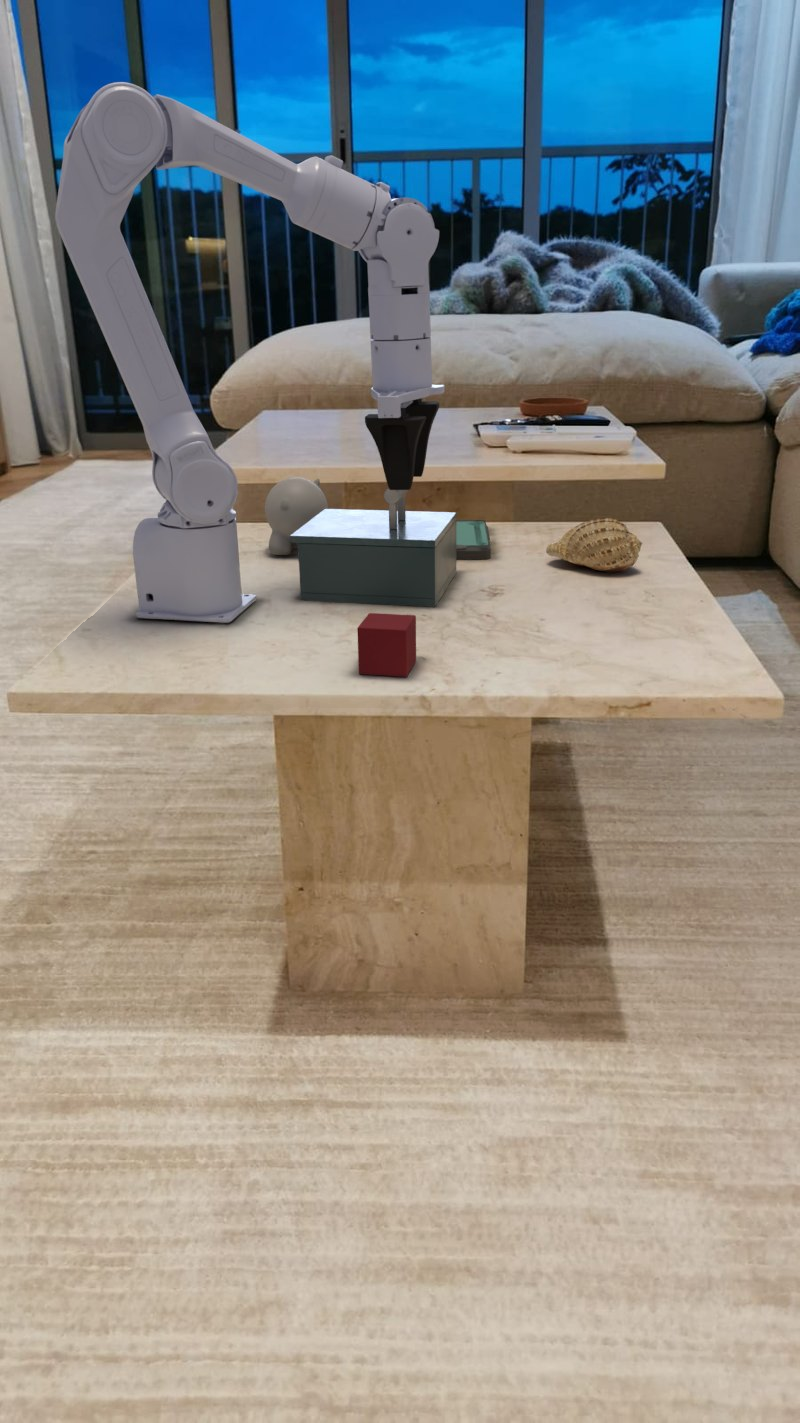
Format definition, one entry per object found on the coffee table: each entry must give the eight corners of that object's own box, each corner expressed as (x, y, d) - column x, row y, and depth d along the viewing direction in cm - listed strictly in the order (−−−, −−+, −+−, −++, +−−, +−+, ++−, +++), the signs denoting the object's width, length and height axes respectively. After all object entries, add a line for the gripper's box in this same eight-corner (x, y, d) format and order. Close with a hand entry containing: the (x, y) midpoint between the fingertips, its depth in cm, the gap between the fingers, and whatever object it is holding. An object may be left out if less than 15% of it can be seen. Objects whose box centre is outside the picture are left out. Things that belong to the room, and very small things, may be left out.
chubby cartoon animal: (343, 535, 132) (340, 465, 129) (322, 560, 121) (318, 484, 118) (286, 534, 133) (282, 464, 130) (260, 558, 122) (255, 483, 119)
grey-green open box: (300, 600, 107) (297, 543, 104) (334, 567, 118) (332, 515, 116) (435, 607, 104) (435, 548, 102) (456, 572, 115) (456, 519, 113)
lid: (289, 542, 105) (286, 493, 103) (325, 515, 116) (323, 470, 114) (435, 547, 102) (434, 497, 100) (456, 518, 113) (456, 473, 111)
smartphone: (426, 549, 120) (427, 518, 134) (427, 560, 121) (427, 528, 134) (492, 548, 120) (487, 518, 134) (492, 559, 120) (486, 528, 134)
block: (358, 674, 87) (357, 627, 86) (370, 657, 91) (368, 612, 89) (406, 677, 86) (406, 630, 85) (416, 660, 90) (416, 615, 88)
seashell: (560, 601, 115) (649, 565, 111) (537, 550, 113) (628, 512, 110) (564, 581, 122) (648, 546, 118) (543, 533, 120) (628, 497, 117)
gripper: (429, 343, 94) (434, 497, 99) (453, 331, 107) (456, 468, 113) (351, 346, 95) (360, 498, 101) (384, 333, 109) (390, 468, 114)
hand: (406, 482), depth 107 cm, fingers open, 6 cm apart
